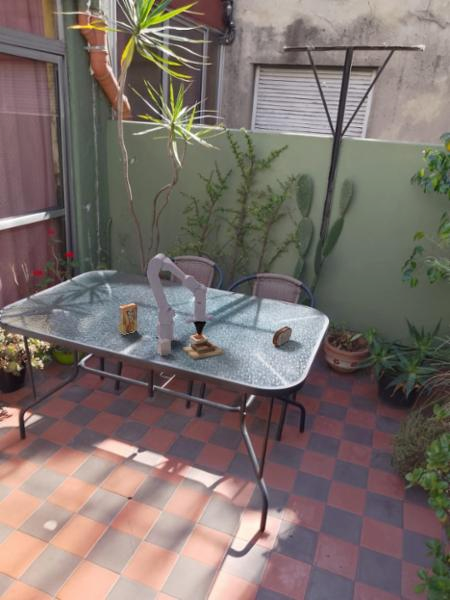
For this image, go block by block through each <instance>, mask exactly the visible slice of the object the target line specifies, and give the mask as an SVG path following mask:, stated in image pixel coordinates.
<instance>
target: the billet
mask: <svg viewBox="0 0 450 600" xmlns="http://www.w3.org/2000/svg"><path fill="white" fill-rule="evenodd" d="M171 342H172V341H170V340H169V339H168V338H165V339H157V354H158V353H159V354H160V355H161V356H160V355H159V354H158V355H159V356H160V357H163V356H162V355H166V356H169V355H168V354H170V355H171V354H172V353H171V352H172V351H171V349H172V348H171V347H172V346H171V345H172V343H171Z"/></svg>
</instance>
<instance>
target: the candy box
mask: <svg viewBox="0 0 450 600" xmlns="http://www.w3.org/2000/svg"><path fill="white" fill-rule="evenodd" d="M118 330H119V332H121V333H122V334H126V333H130V332H133V331H136V330H137V331H138V305H137V304H135V303H134V302H132V303H128V304H124V305H120V306H118Z"/></svg>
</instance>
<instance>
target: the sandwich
mask: <svg viewBox="0 0 450 600" xmlns="http://www.w3.org/2000/svg"><path fill="white" fill-rule="evenodd" d="M292 333H293V329H292V328H291V327H289V326H287V325H286V326H284V327H281V328H279V329H278V330H277V331H275V333H274V334H273V337H272V344H273V346H277V347H281V346H282V345H284V344H286V343H287V342H288V341H289V340H290V338H292V337H291V336H292Z"/></svg>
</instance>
